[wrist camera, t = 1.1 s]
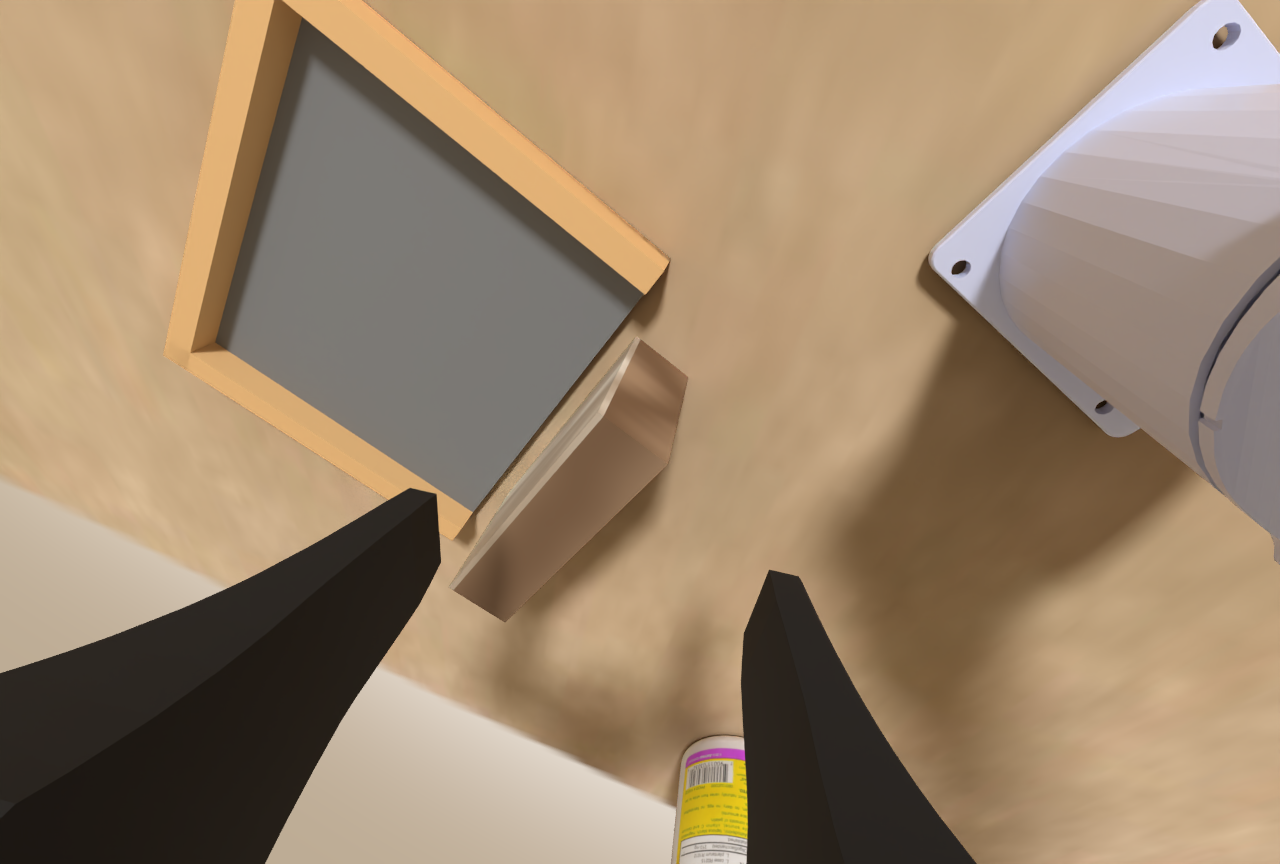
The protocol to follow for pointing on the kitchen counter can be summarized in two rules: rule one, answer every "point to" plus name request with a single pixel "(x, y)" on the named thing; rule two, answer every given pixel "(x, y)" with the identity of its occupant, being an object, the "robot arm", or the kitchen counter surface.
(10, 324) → the kitchen counter surface
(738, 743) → the supplement bottle
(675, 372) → the slab
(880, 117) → the kitchen counter surface
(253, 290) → the chalkboard
